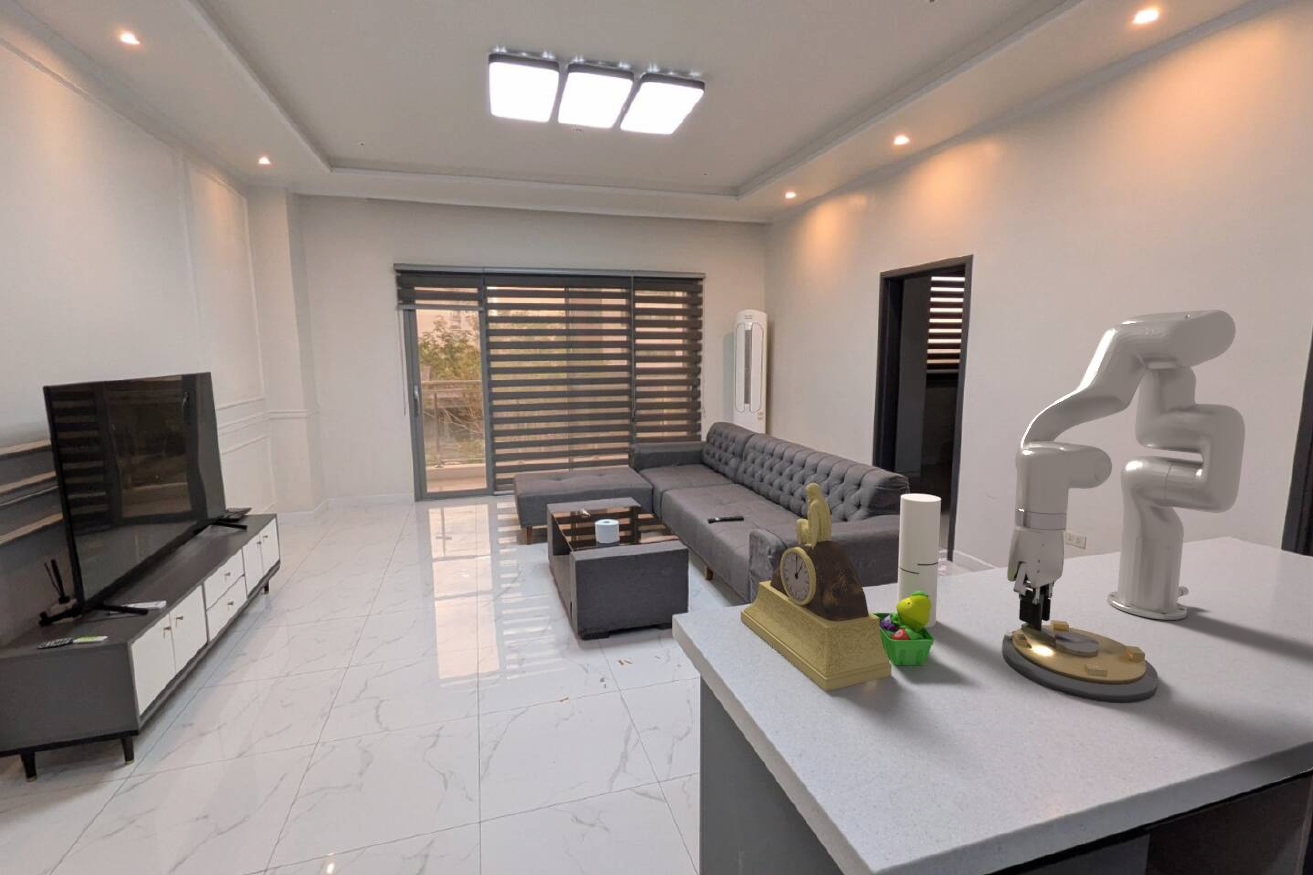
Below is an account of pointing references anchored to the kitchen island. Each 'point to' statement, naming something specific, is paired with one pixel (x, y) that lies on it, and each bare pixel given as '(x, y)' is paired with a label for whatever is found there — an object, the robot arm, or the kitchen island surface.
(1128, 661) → the gold dial with handle
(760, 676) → the kitchen island surface
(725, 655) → the kitchen island surface
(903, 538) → the cylindrical container
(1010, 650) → the cap plate
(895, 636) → the fruit basket
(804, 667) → the decorative clock
